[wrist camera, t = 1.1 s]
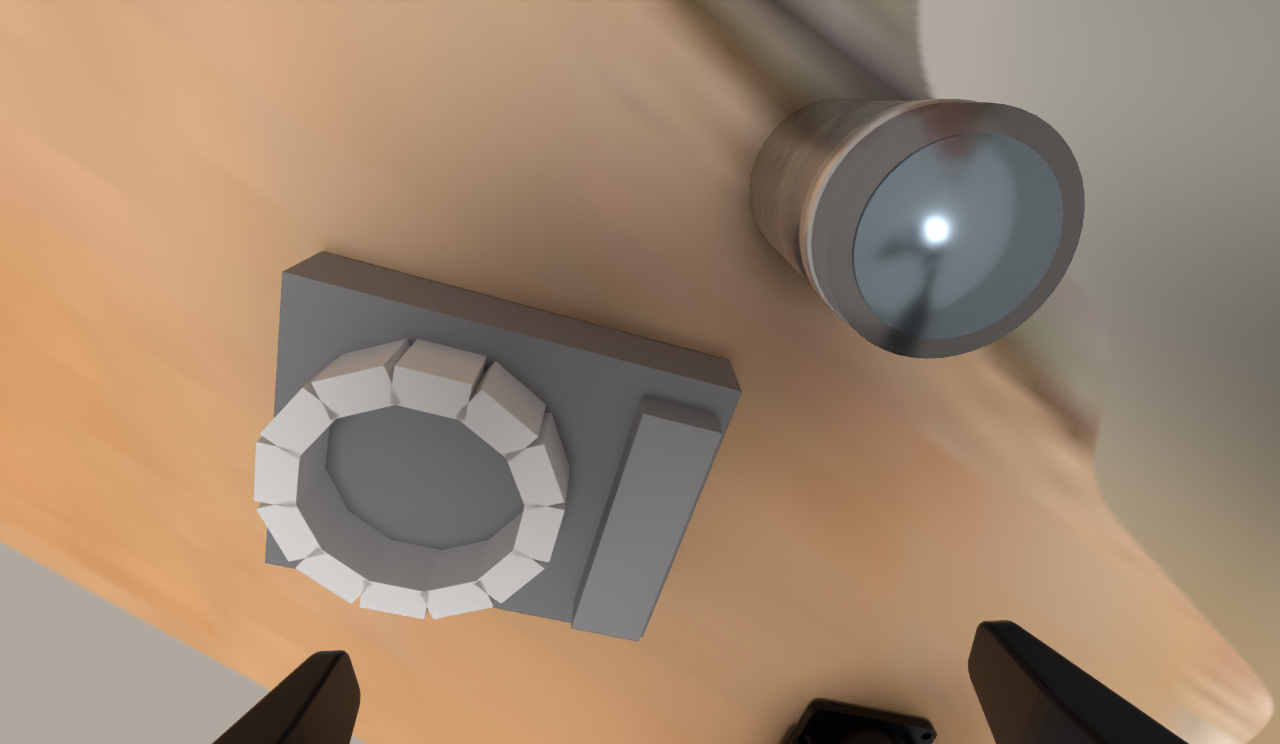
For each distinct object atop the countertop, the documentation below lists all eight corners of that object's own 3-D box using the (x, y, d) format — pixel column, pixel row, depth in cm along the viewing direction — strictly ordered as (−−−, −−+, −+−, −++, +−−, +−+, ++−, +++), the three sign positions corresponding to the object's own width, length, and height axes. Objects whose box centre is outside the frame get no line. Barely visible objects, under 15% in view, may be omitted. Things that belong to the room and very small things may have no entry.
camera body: (729, 360, 22) (754, 422, 18) (640, 589, 26) (644, 682, 22) (322, 251, 20) (242, 292, 16) (299, 518, 24) (232, 605, 20)
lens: (938, 127, 19) (1147, 149, 11) (867, 282, 21) (1005, 388, 13) (784, 74, 18) (898, 60, 11) (725, 241, 20) (786, 328, 13)
